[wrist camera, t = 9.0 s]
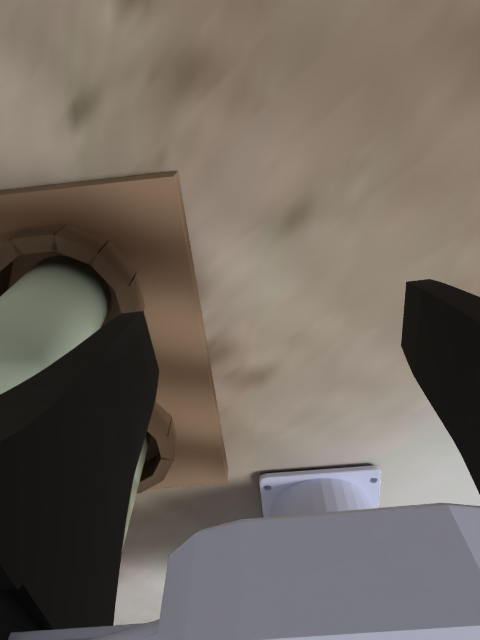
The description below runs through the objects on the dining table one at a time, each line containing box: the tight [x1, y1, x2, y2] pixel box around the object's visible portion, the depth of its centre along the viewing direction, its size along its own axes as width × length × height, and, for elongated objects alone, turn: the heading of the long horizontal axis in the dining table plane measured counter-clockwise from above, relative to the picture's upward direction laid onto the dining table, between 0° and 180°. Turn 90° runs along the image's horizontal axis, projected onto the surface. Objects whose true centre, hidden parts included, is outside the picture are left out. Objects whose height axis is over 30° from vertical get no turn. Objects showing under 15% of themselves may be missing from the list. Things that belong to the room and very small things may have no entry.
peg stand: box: [0, 171, 228, 554], centre depth 20 cm, size 19×12×8 cm, turn 6°
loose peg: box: [0, 256, 112, 394], centre depth 17 cm, size 4×4×7 cm
